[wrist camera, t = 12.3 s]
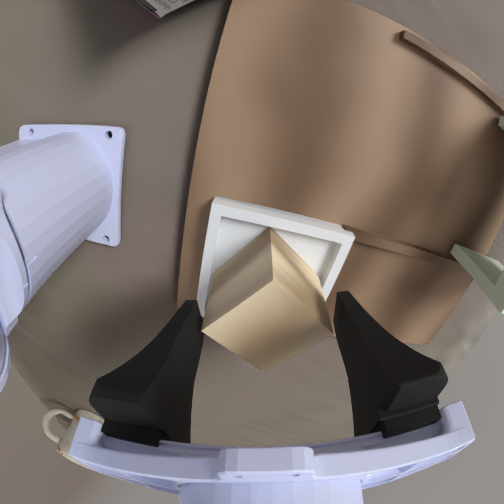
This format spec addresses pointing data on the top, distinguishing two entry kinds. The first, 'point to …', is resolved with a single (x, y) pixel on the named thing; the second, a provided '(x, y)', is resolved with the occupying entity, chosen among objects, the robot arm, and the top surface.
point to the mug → (69, 434)
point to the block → (266, 304)
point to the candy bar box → (162, 6)
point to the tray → (285, 225)
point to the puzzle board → (353, 151)
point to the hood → (484, 268)
